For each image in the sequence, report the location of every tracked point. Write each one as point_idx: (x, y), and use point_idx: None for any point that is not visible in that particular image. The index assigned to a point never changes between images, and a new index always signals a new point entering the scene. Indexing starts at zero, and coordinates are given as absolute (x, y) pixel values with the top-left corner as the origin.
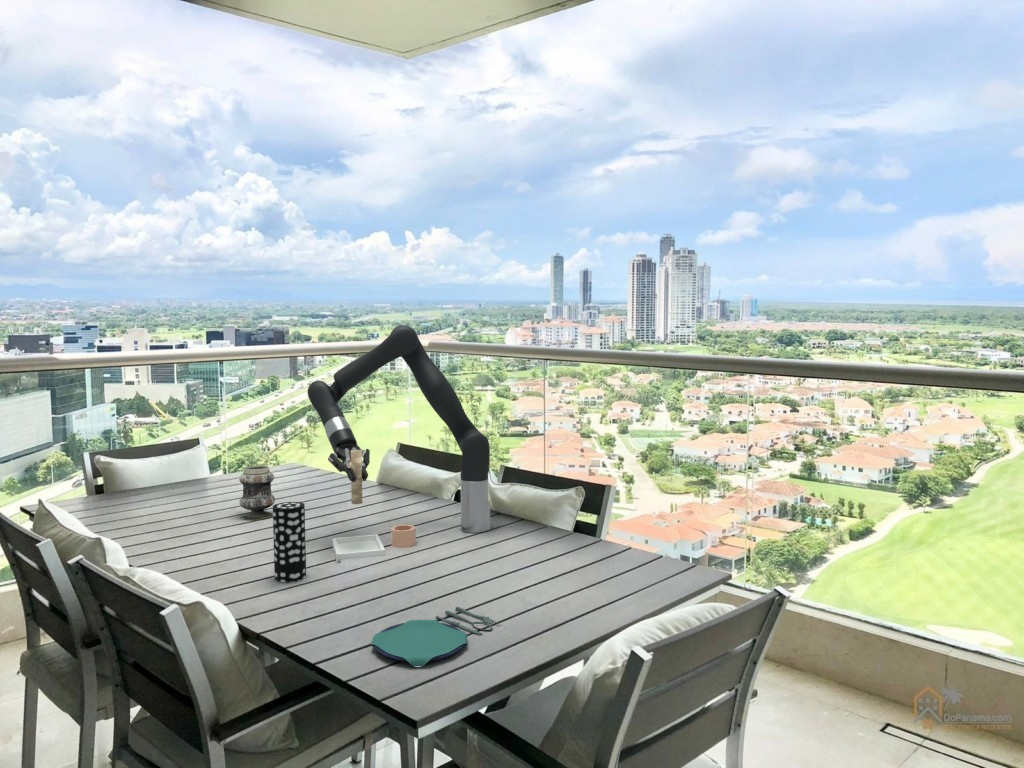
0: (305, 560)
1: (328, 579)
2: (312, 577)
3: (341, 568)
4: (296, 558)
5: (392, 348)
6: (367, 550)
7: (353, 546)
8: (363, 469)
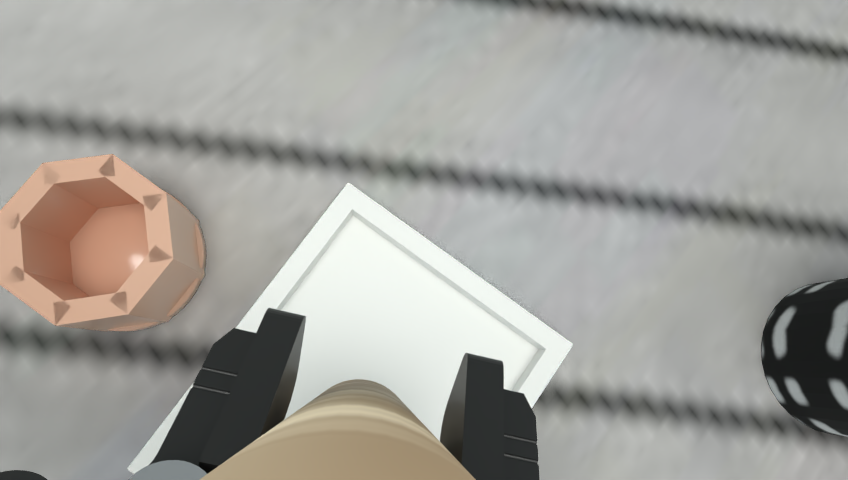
0: (838, 291)
1: (730, 186)
2: (764, 269)
3: (597, 257)
4: None
5: None
6: (349, 331)
7: None
8: (243, 418)
